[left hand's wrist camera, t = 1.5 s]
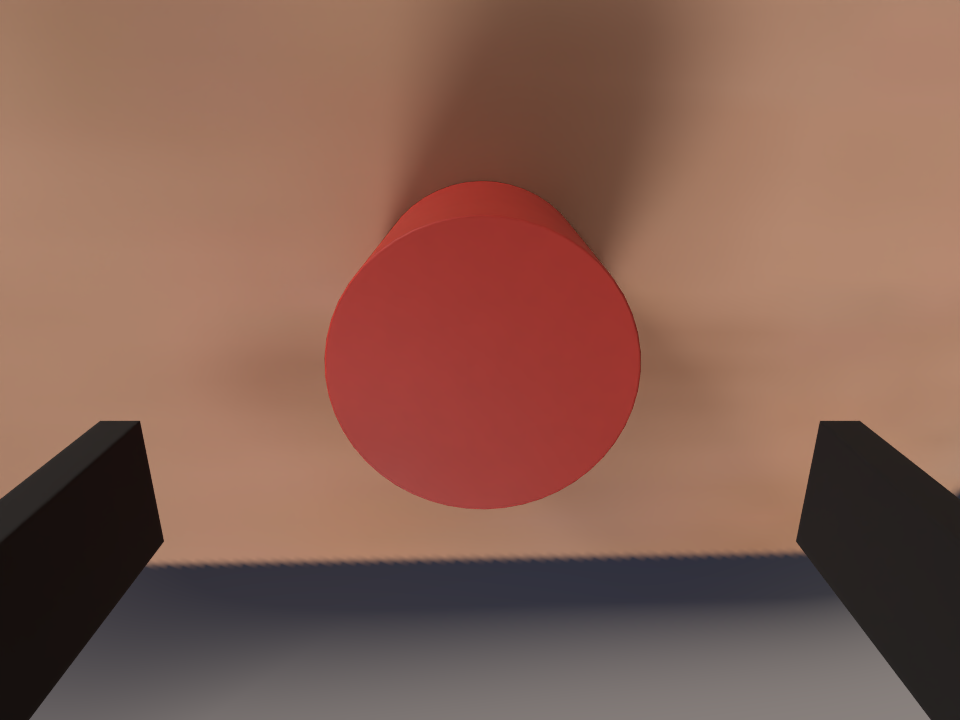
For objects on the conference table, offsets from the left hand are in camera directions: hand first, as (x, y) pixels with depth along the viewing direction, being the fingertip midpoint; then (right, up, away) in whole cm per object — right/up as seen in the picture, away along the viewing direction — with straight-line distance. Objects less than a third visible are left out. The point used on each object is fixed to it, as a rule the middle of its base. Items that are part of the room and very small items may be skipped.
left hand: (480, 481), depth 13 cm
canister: (0, +5, +13) cm, 14 cm away
